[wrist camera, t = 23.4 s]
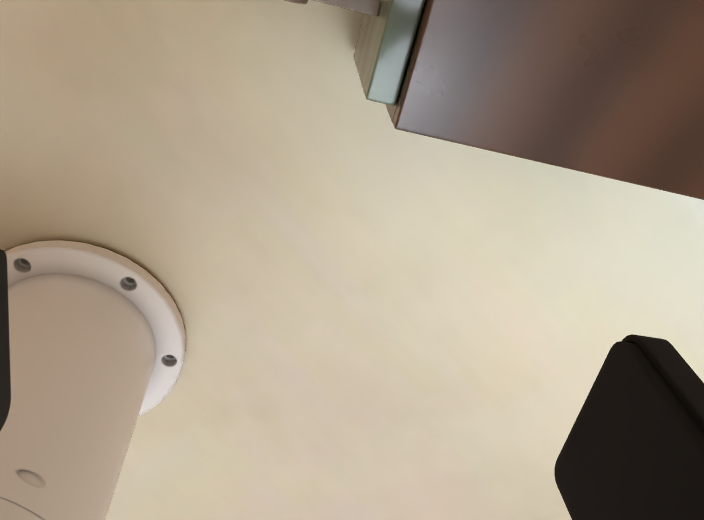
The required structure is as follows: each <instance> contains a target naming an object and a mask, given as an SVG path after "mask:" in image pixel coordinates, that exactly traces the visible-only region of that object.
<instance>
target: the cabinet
mask: <svg viewBox="0 0 704 520" xmlns="http://www.w3.org/2000/svg"><path fill="white" fill-rule="evenodd" d="M385 105H386V107H387V110H388V112H389V115H390V118H391V120H392V122H393V125H394V127H395V128H396V129H398V130H402V131H407V132H411V133H415V134H420V135H424V136H429V137H433V138H437V139H442V140H446V141H450V142H455V143H459V144H463V145H468V146H472V147H476V148H481V149H485V150H489V151H494V152H498V153H502V154H507V155H511V156H515V157H520V158H524V159H529V160H533V161H537V162H542V163H546V164H550V165H555V166H559V167H563V168H568V169H572V170H576V171H581V172H585V173H589V174H594V175H598V176H602V177H607V178H611V179H615V180H620V181H624V182H629V183H633V184H637V185H642V186H646V187H650V188H655V189H659V190H663V191H668V192H672V193H676V194H681V195H685V196H689V197H694V198H698V199H702V200H704V0H427V4H426V7H425V11H424V14H423V18H422V21H421V25H420V28H419V32H418V35H417V39H416V42H415V46H414V49H413V52H412V56H411V58H410V57H409V61H408V64H407V68H406V71H405V75H404V78H403V82H402V85H401V89H400V92H399V96H398V99H397V103H396V105H395V106H392V105H388V104H385Z"/></svg>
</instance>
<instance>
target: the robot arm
mask: <svg viewBox="0 0 704 520" xmlns="http://www.w3.org/2000/svg"><path fill="white" fill-rule="evenodd" d="M129 277H130V278H129ZM131 278H132V279H131ZM185 351H186V333H185V329H184V325H183V321H182V317H181V315H180V313H179V311H178V309H177V307H176V305H175V303H174V301H173V299H172V298H171V296H170V295H169V294H168V293H167V291H166V290H165V289H164V287H163V286H162V285H161V284H160V283H159V282H158V281H157V280H156V279H155V278H154V277H153V276H151V275H150V274H149V273H148V272H147V271H146V270H145V269H143V268H142V267H140V266H138V265H137V264H135V263H134V262H132V261H131V260H129V259H128V258H126V257H124V256H121V255H119V254H117V253H114V252H112V251H110V250H108V249H105V248H101V247H98V246H94V245H90V244H86V243H82V242H73V241H63V240H54V241H37V242H33V243H29V244H25V245H20V246H16V247H14V248H12V249H10V250H7V251H5V252H4V251H3V250H0V520H105V519H106V516H107V513H108V509H109V506H110V503H111V500H112V497H113V494H114V491H115V487H116V484H117V481H118V478H119V475H120V472H121V469H122V465H123V462H124V459H125V456H126V453H127V450H128V447H129V443H130V440H131V437H132V434H133V431H134V428H135V425H136V421H137V418H138V416H140V415H142V414H144V413H145V412H147V411H148V410H150V409H152V408H153V407H155V406H156V405H157V404H158V403H159V402H160V401H162V400H163V399H164V398H165V397H166V396H167V395H168V394H169V392H170V391H171V389H172V388H173V386H174V385H175V383H176V382H177V379H178V377H179V374H180V371H181V368H182V365H183V361H184V356H185ZM555 480H556V484H557V486H558V489H559V491H560V493H561V495H562V498H563V500H564V502H565V505H566V507H567V509H568V511H569V514H570V516H571V518H572V520H704V383H703V382H702V381H701V379H700V378H699V377H698V376H697V375H696V373H695V372H694V371H693V370H692V369H691V367H690V366H689V365H688V364H687V363H686V361H685V360H684V359H683V358H682V357H681V355H680V354H679V353H678V352H677V351H676V349H675V348H674V347H673V346H672V345H671V343H669V342H668V341H667V340H664V339H659V338H652V337H646V336H639V335H628V336H626V337H625V338H624V339H623V340H622V342H616V343H615V344H614V345H613V346H612V348H611V349H610V351H609V353H608V355H607V357H606V359H605V361H604V363H603V365H602V368H601V370H600V372H599V374H598V376H597V378H596V380H595V382H594V384H593V386H592V388H591V390H590V392H589V394H588V396H587V399H586V401H585V403H584V405H583V407H582V409H581V411H580V413H579V415H578V417H577V419H576V421H575V423H574V425H573V427H572V429H571V432H570V434H569V436H568V438H567V440H566V442H565V444H564V446H563V448H562V450H561V452H560V454H559V456H558V458H557V461H556V464H555Z"/></svg>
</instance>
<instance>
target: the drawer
mask: <svg viewBox="0 0 704 520" xmlns="http://www.w3.org/2000/svg"><path fill="white" fill-rule="evenodd" d="M285 1H289V2H293V3H299V4H307V3H308V0H285ZM314 1H318V2H322V3H326V4H330V5H333V6H337V7H341V8H345V9H349V10H353V11H357V12H360V13H364V16H363V20H362V24H361V29H360V33H359V37H358V41H357V45H356V49H355V53H354V59H355V63H356V66H357V70H358V73H359V76H360V80H361V83H362V87H363V90H364V93H365V97H366V99H367V100H371V101H375V102H379V103H384V104H388V105H392V106H395V105H396V103H397V99H398V96H399V92H400V89H401V85H402V82H403V78H404V75H405V71H406V68H407V64H408V61H409V57H410V58H411V56H412V52H413V49H414V46H415V42H416V39H417V35H418V32H419V28H420V25H421V21H422V18H423V14H424V11H425V7H426V4H427V0H314Z"/></svg>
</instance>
